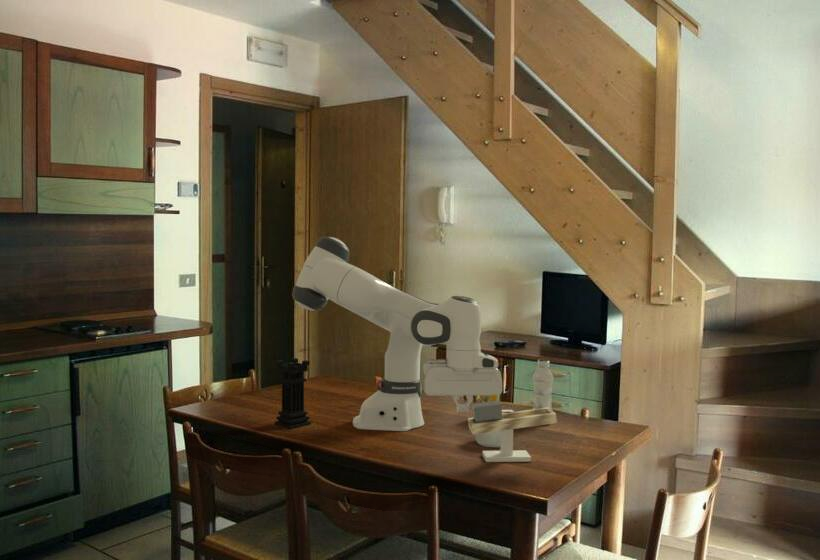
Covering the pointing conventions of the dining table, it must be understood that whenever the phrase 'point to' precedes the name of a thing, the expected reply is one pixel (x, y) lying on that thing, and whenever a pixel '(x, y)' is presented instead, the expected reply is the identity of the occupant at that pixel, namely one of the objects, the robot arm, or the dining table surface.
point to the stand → (507, 449)
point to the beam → (515, 420)
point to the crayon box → (488, 398)
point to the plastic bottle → (542, 385)
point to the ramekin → (489, 439)
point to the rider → (487, 411)
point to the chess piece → (292, 394)
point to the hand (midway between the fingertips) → (462, 412)
